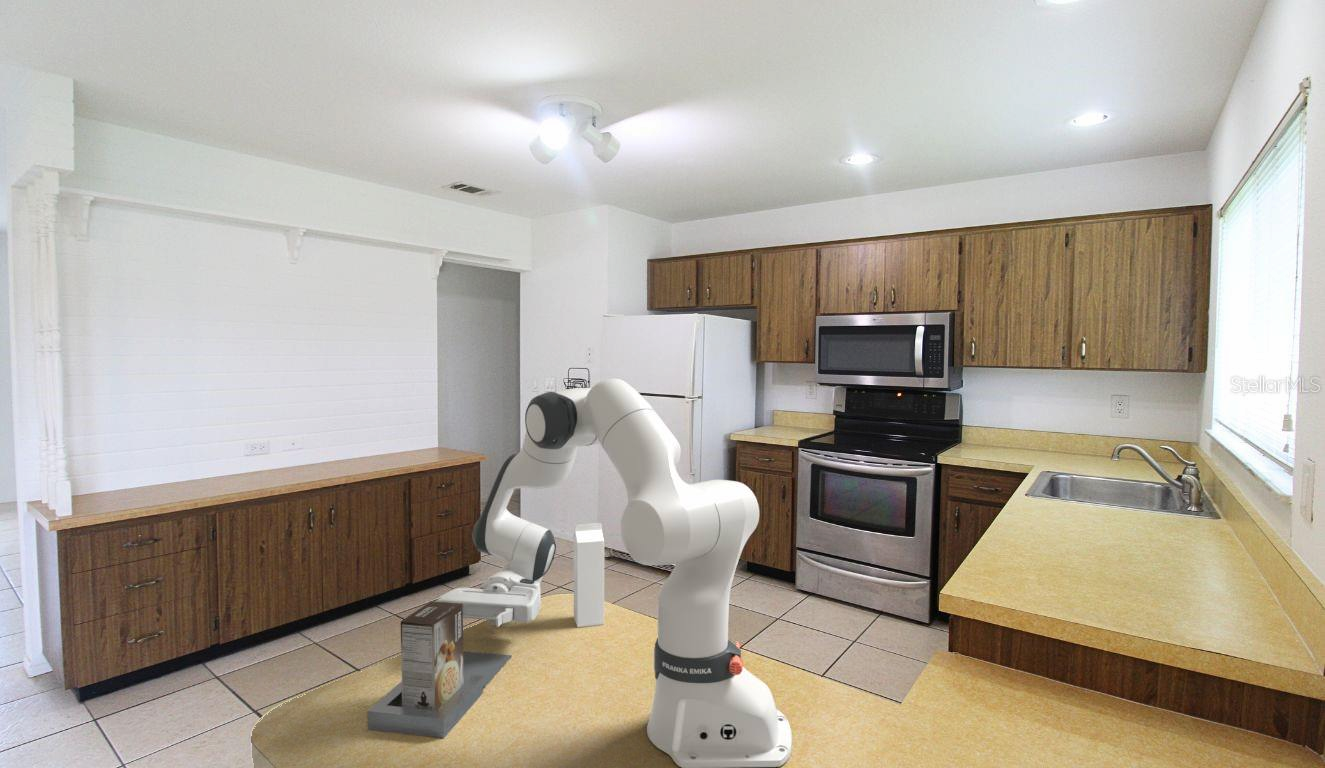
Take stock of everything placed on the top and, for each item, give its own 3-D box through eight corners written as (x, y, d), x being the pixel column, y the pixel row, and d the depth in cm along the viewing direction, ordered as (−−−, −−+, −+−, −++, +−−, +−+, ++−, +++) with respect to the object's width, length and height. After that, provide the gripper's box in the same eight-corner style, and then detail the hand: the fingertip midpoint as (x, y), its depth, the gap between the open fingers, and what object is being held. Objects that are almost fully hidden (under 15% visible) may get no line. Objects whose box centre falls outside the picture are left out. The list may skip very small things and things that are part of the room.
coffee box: (431, 689, 111) (431, 599, 110) (465, 693, 110) (464, 602, 109) (400, 717, 102) (399, 620, 101) (435, 722, 101) (435, 623, 100)
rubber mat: (511, 657, 123) (511, 655, 123) (484, 688, 111) (484, 686, 111) (454, 652, 125) (454, 650, 125) (422, 682, 113) (422, 680, 113)
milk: (604, 625, 139) (604, 526, 138) (576, 628, 137) (577, 528, 136) (599, 614, 144) (599, 519, 144) (573, 616, 143) (573, 521, 142)
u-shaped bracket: (483, 692, 110) (483, 676, 110) (443, 738, 96) (443, 719, 96) (415, 686, 112) (414, 669, 112) (367, 729, 99) (367, 711, 98)
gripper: (455, 576, 134) (420, 600, 120) (547, 582, 131) (521, 607, 117) (456, 605, 134) (420, 633, 121) (547, 612, 131) (521, 641, 117)
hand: (471, 620), depth 119 cm, fingers open, 8 cm apart
